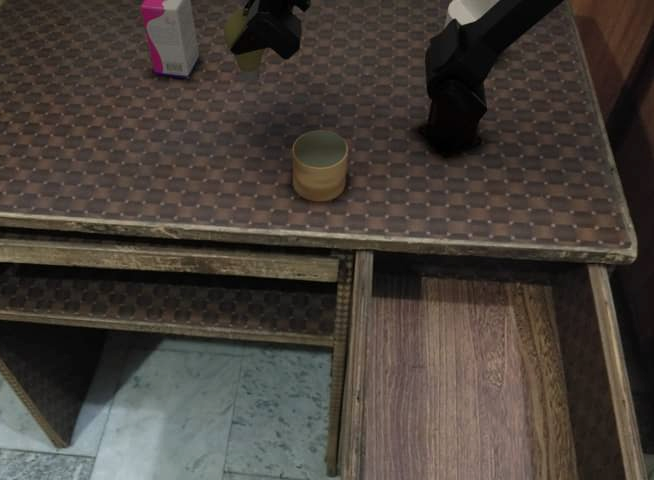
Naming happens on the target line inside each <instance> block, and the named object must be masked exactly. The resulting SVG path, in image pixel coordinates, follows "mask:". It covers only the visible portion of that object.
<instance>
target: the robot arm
mask: <svg viewBox="0 0 654 480" xmlns="http://www.w3.org/2000/svg"><path fill="white" fill-rule="evenodd" d="M564 1H565V0H499V1H498V2H497V3H496V4H495V5H494V6H493V7H491V8H490V9H489V10H488V11H487V12H486V13H485V14H484V15H483V16H482V17H480V18H479V19H478V20H476V21H474V22H471V23H467V24H464V25H461V24H460V23H459V22H458V21H457V19H453V20H451V21H450V22H449V24H448V25H447V26H446V27H445V29H444V28H443V30H442V31H440V32H439V33H438V34H437V35H434V36H432V37H430V39H429V46H428V47H427V49H426V51H425V54H424V71H425V86H426V87H425V88H426V89H425V90H426V94H427V97H428V98H429V99H430V100H431V102H430V107H429V111H428V112H429V113H428V116H427V123H425V124H421V125H420V126H418V129H417V131H418V132H419V134H420V135H421V136H422V138H424V139H425V141H426V142H428V144H429V145H430V146H431V147H432V149H434V150H435V151H436V152H437V153H438V155H440V157H442V158H446V157H449V156H452V155H455V154H457V153H460V152H462V151H465V150H467V149H470V148H472V147H475V146H477V145H478V146H479V145H480V144H483V139H484V138H483V137H481V135H480V134H479V133H478V131H477V130H478V127H479V124H480V122H481V120H482V118H484V116H485V114H486V113H487V112H488V103H487V96H486V90H485V89H486V88H485V81H486V79H487V77H488V76H489V74H490V72H491V71H492V69H493V68H494V66H495V64H496V62H497V61H498V58H499V57H500V55H501V54H502V53H503V52H505V50H507V49H508V48H509V47H510V46H512V45H513V44H514V43H515V42H517V40H519V39H520V38H522V36H524V34H526V33H527V32H528V31H529V30H531V29H533V27H534V26H536V25H537V24H538V23H539V22H540V21H542V20H543V19H544V18H545V17H547V16H548V15H549V14H550V13H551V12H552V11H554V10H555V9H556V8H557V7H558V6H560V4H562V3H563V2H564ZM311 4H312V0H246V1H245V4H244V5H243V8H242V9H245V8H246V9H248V11H247V23H246V25H245V27H244V28H243V30H242V31H241V33H240V34H239V35H238V37H237V38H236V40H235V42H234V43H233V45H232V46H231V48H230V50H229V51H230V53H231V52H232V53H234V54H235V55H240V54H244V53H248V52H252V51H256V50H260V49H265V50H266V49H271V50H272V51H273V52H275V53H276V54H277V56H279V57H280V58H281V59H282V60H286V61H287V60H289V59H291V58H292V57H293V56H294V55H295V54H296V53H297V52H299V50H300V48H301V41H302V33H303V32H302V31H303V29H302V26H303V25H302V19H300V18H299V17H298V16H297V15H296V14H294V8H295V7H297V8H298V9H299V10H300V11H302V12H303V13H306V12H307V11H308V10H309V9H310V8H311ZM232 53H231V54H232Z"/></svg>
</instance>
